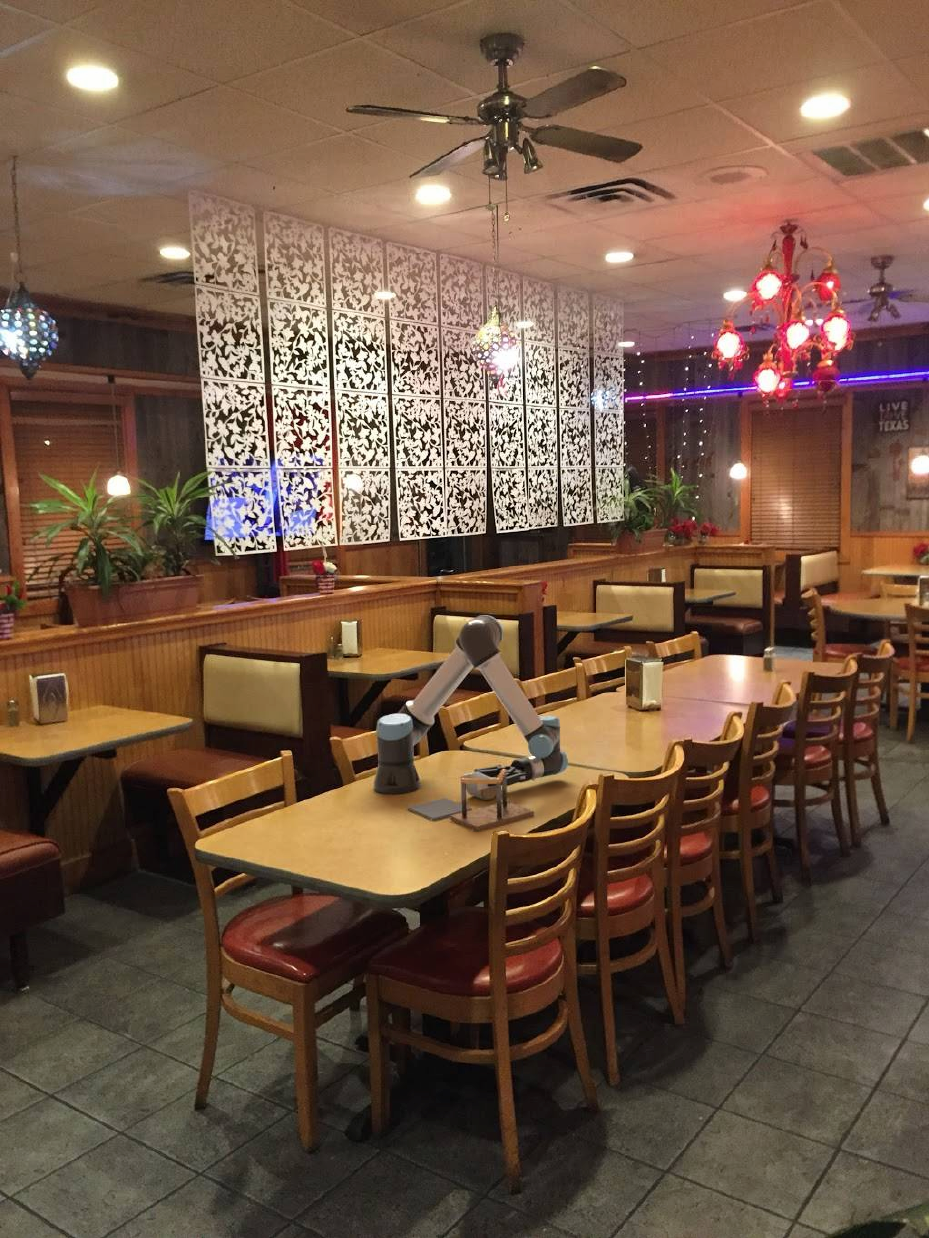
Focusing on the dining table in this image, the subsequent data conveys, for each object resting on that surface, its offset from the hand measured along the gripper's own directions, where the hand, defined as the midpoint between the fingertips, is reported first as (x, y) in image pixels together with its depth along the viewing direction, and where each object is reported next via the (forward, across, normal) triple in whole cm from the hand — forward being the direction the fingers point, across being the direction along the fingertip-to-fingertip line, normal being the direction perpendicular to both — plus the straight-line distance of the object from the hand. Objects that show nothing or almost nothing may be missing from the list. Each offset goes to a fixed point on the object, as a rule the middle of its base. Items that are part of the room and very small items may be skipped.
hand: (469, 782), depth 308 cm
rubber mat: (+12, -1, -6) cm, 14 cm away
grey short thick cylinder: (-6, 0, -6) cm, 9 cm away
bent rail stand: (+5, -17, -6) cm, 19 cm away
